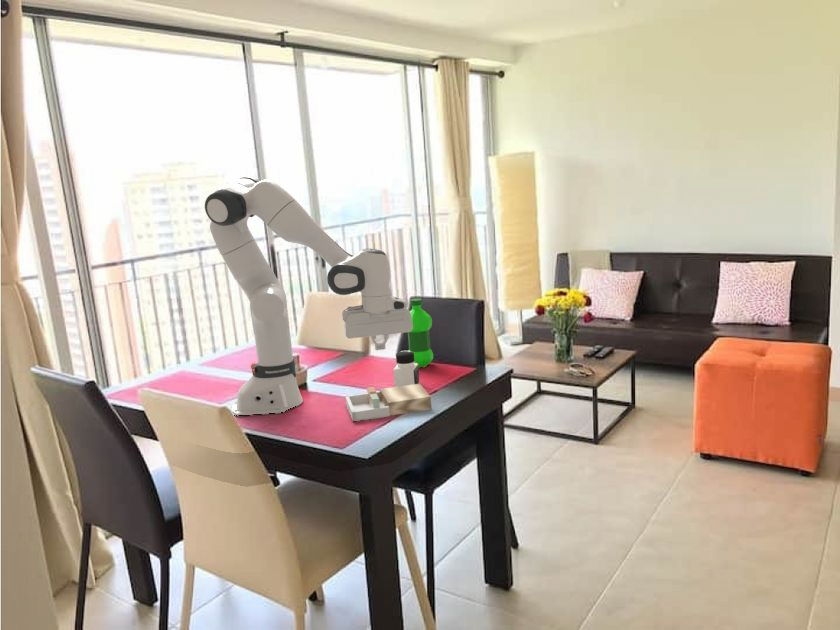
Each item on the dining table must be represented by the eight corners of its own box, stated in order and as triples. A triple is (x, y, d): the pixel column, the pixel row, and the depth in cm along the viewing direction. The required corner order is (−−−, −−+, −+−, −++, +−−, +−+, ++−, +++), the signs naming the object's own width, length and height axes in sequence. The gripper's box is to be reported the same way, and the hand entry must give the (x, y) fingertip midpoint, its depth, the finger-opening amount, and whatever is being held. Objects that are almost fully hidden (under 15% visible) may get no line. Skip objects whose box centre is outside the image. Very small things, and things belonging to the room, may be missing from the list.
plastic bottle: (430, 360, 253) (426, 295, 248) (437, 367, 243) (432, 300, 238) (404, 363, 251) (399, 298, 246) (410, 371, 241) (405, 303, 236)
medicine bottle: (415, 389, 220) (412, 354, 217) (394, 389, 221) (391, 355, 219) (419, 383, 227) (417, 349, 224) (399, 383, 228) (396, 349, 226)
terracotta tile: (377, 406, 205) (371, 407, 205) (374, 401, 210) (368, 402, 209) (376, 391, 204) (369, 392, 203) (373, 386, 209) (366, 387, 208)
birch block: (389, 415, 198) (388, 402, 197) (380, 401, 211) (379, 389, 210) (431, 409, 201) (430, 396, 200) (420, 395, 214) (419, 383, 213)
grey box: (353, 422, 195) (352, 412, 194) (346, 404, 210) (345, 395, 209) (389, 416, 197) (389, 407, 196) (380, 400, 212) (379, 391, 212)
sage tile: (380, 414, 198) (373, 415, 198) (377, 409, 203) (371, 410, 202) (379, 398, 197) (372, 399, 197) (376, 393, 202) (369, 394, 201)
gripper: (343, 309, 190) (346, 355, 193) (412, 302, 195) (415, 348, 198) (340, 305, 196) (344, 350, 199) (408, 298, 201) (410, 343, 204)
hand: (380, 349), depth 198 cm, fingers closed
